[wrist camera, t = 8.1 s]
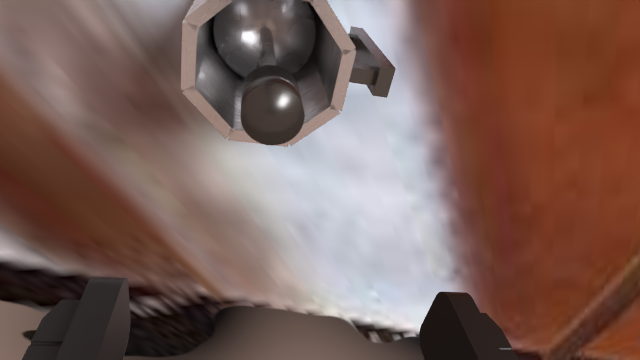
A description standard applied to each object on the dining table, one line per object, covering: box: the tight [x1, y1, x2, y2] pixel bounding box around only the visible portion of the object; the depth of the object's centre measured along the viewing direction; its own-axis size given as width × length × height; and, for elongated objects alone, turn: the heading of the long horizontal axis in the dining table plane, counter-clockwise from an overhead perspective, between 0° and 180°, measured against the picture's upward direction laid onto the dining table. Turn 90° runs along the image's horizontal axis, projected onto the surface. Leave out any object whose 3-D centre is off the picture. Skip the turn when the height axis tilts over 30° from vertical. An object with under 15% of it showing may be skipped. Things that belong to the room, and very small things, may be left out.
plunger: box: [214, 0, 315, 145], centre depth 26 cm, size 8×8×15 cm
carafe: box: [181, 0, 395, 147], centre depth 31 cm, size 10×13×14 cm
